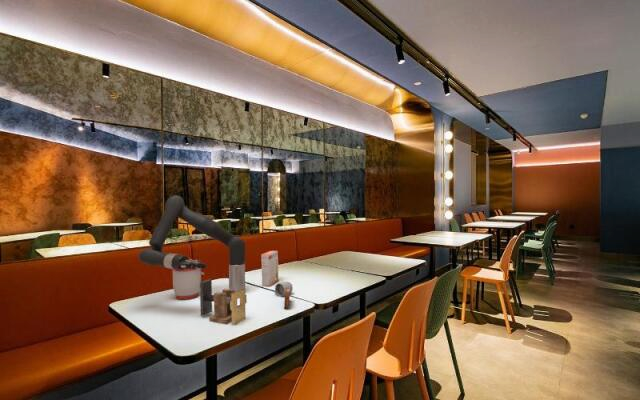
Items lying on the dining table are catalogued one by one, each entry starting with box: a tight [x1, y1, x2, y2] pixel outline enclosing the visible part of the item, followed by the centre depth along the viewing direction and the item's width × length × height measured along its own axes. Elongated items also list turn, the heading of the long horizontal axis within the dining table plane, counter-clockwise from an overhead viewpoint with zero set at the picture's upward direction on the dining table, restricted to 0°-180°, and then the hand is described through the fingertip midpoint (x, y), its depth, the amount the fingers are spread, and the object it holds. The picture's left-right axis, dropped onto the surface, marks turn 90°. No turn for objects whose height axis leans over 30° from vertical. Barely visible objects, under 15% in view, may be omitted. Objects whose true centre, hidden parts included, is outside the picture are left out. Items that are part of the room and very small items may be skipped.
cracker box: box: [260, 250, 279, 287], centre depth 209 cm, size 14×6×21 cm, turn 163°
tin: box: [283, 288, 291, 309], centre depth 167 cm, size 15×3×8 cm, turn 5°
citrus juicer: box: [171, 268, 205, 301], centre depth 184 cm, size 16×17×20 cm
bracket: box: [208, 288, 235, 325], centre depth 149 cm, size 10×10×13 cm
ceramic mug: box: [274, 281, 294, 298], centre depth 185 cm, size 11×8×8 cm
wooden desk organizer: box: [199, 279, 232, 317], centre depth 150 cm, size 16×6×16 cm, turn 67°
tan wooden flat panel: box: [230, 288, 248, 326], centre depth 146 cm, size 2×10×14 cm, turn 157°
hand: (205, 266), depth 155 cm, fingers closed
